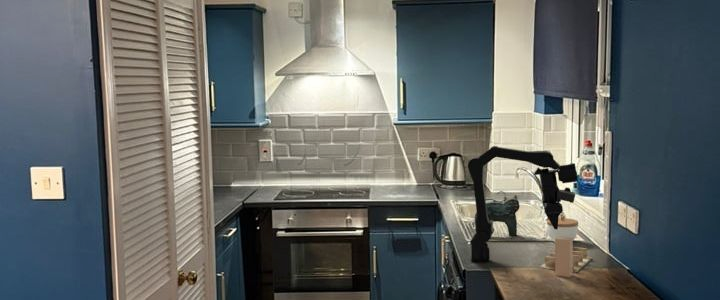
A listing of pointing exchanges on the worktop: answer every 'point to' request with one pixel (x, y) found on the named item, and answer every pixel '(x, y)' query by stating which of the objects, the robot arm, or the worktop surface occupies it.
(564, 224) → the lidded bowl
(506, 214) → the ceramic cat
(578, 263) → the drying rack
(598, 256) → the worktop surface
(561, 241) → the tan rectangular block
